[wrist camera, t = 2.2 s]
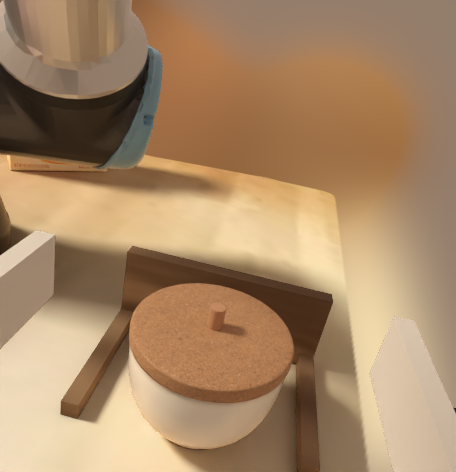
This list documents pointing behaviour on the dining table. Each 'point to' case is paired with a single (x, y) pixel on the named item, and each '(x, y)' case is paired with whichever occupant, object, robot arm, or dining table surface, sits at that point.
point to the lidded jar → (206, 363)
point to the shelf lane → (265, 290)
